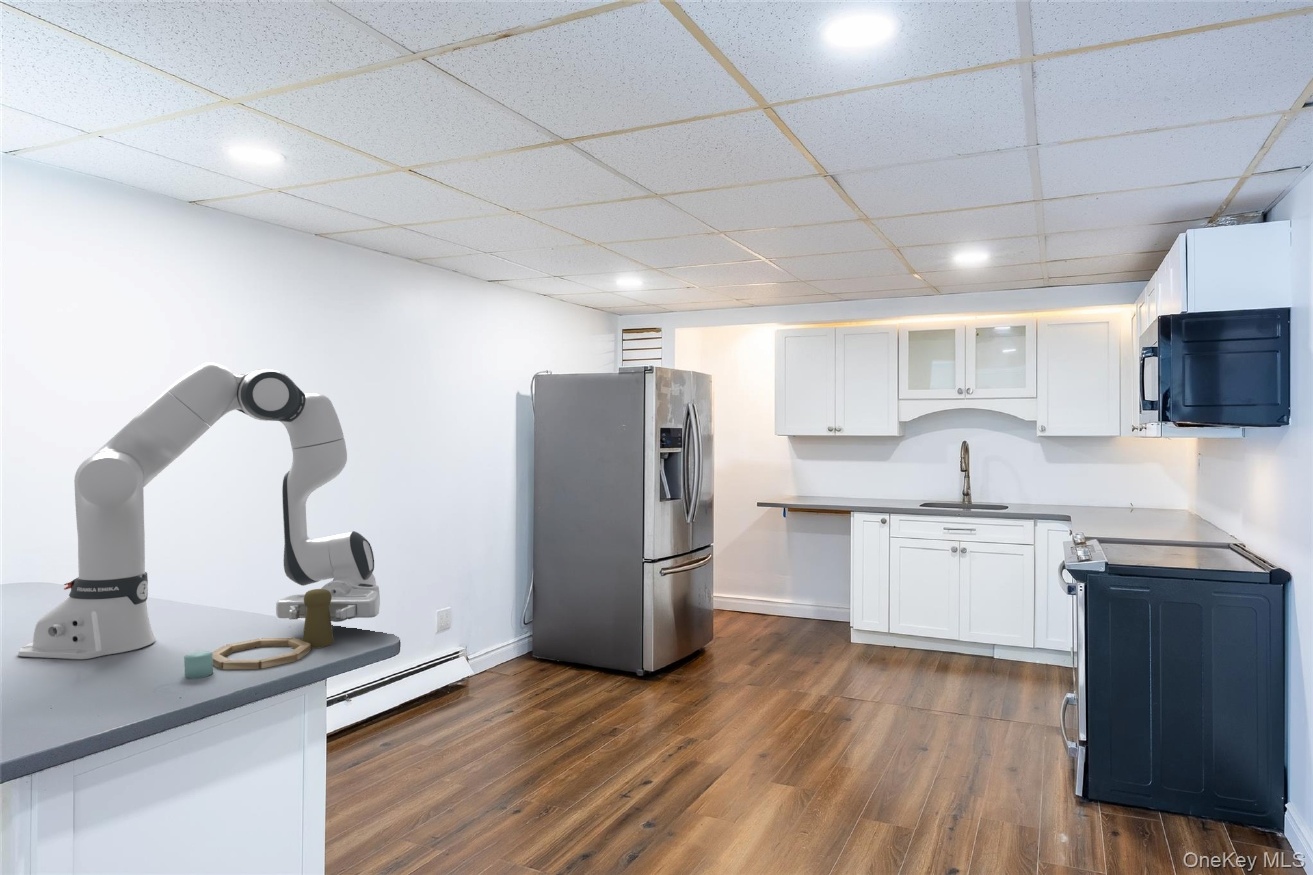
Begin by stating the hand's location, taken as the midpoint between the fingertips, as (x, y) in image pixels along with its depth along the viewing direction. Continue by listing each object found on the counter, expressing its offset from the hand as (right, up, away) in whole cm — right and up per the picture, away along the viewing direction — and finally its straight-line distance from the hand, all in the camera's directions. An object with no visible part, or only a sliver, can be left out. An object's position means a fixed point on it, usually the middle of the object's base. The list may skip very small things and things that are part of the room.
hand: (316, 615), depth 164 cm
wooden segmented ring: (-8, -6, -7) cm, 12 cm away
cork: (0, -6, +1) cm, 6 cm away
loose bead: (-13, -6, -19) cm, 24 cm away
